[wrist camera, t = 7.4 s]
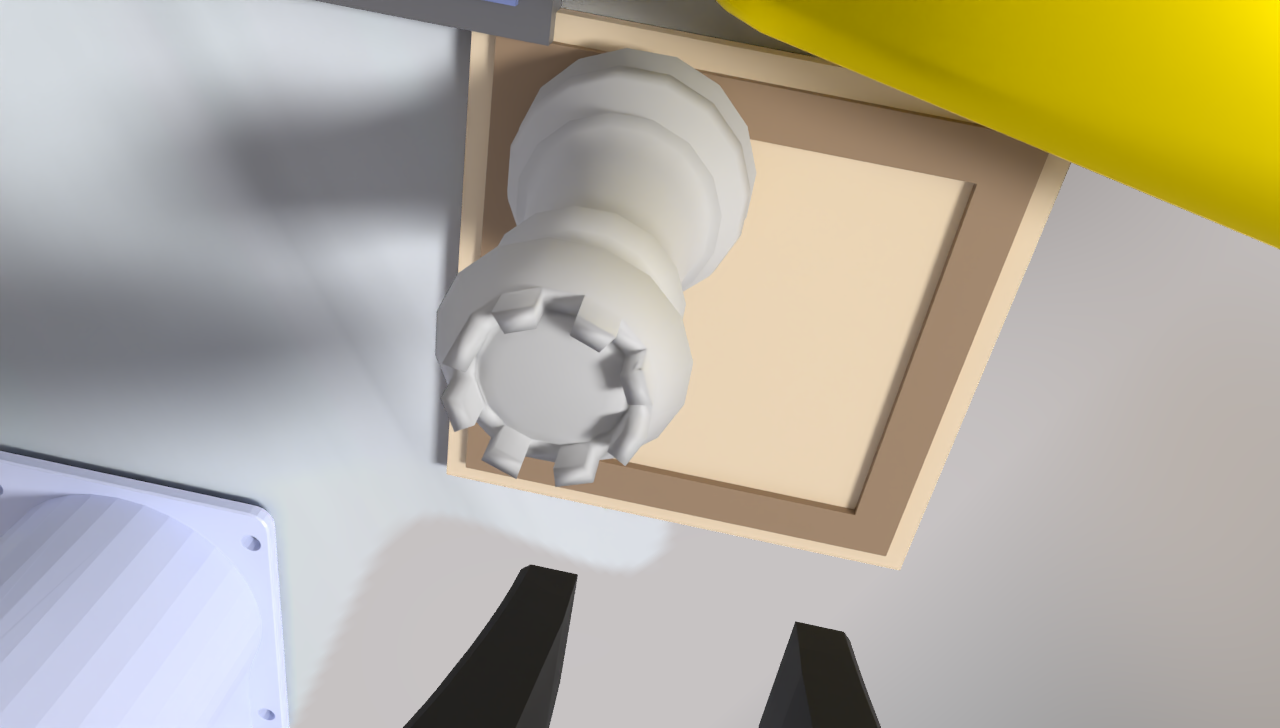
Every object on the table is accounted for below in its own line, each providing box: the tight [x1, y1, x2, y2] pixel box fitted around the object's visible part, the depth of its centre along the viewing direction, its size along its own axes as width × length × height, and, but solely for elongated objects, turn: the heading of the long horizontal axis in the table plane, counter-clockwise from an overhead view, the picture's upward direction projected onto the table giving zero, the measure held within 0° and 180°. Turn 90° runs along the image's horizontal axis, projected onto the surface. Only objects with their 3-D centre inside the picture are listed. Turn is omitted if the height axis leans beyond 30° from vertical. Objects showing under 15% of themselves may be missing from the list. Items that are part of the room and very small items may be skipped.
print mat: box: [447, 8, 1071, 570], centre depth 19 cm, size 11×11×1 cm
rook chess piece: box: [435, 48, 756, 487], centre depth 14 cm, size 4×4×8 cm
